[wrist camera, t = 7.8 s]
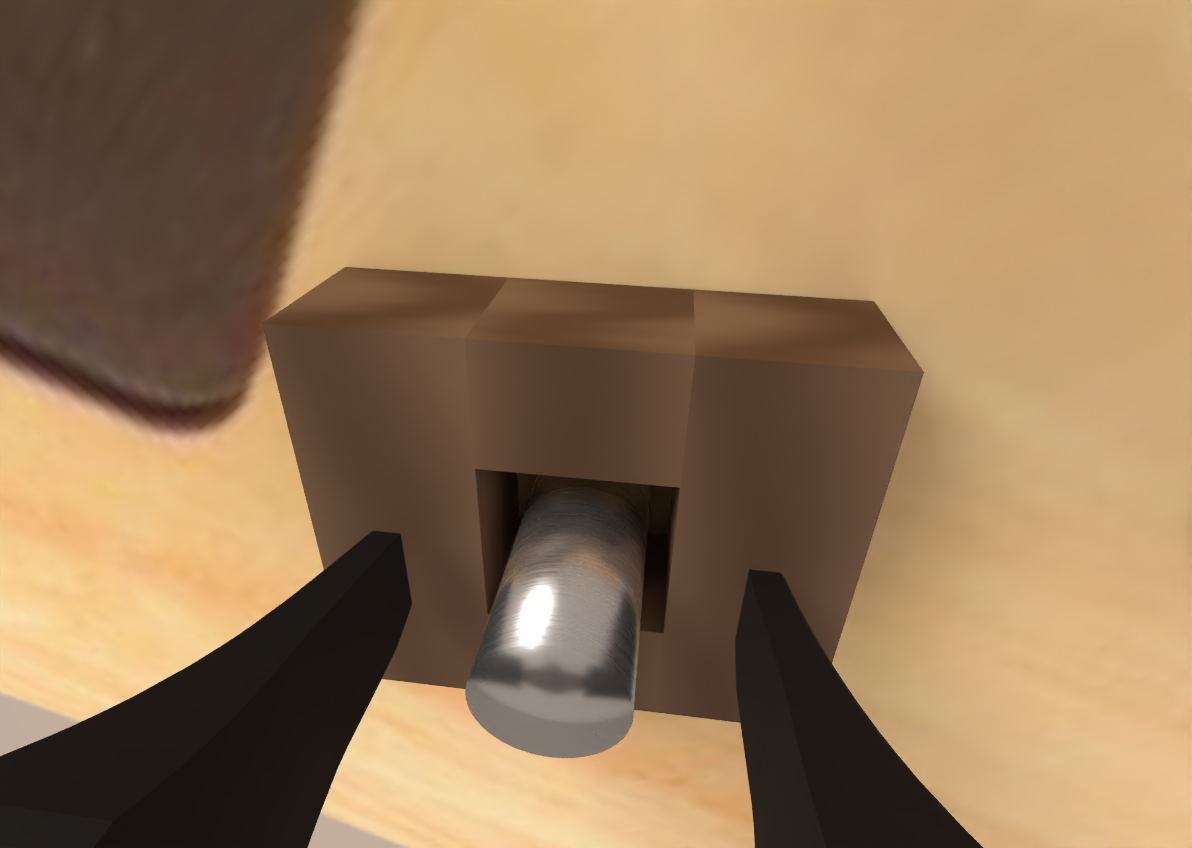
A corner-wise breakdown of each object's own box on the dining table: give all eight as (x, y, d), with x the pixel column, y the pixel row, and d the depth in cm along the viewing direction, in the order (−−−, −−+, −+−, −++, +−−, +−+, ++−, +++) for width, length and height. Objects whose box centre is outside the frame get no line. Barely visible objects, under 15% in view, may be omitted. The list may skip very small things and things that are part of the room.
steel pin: (659, 439, 17) (644, 663, 11) (642, 529, 18) (621, 769, 12) (544, 421, 17) (465, 633, 11) (537, 512, 18) (465, 741, 12)
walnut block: (874, 301, 14) (924, 372, 11) (791, 623, 19) (810, 731, 16) (344, 266, 15) (262, 323, 12) (399, 581, 20) (350, 674, 17)
